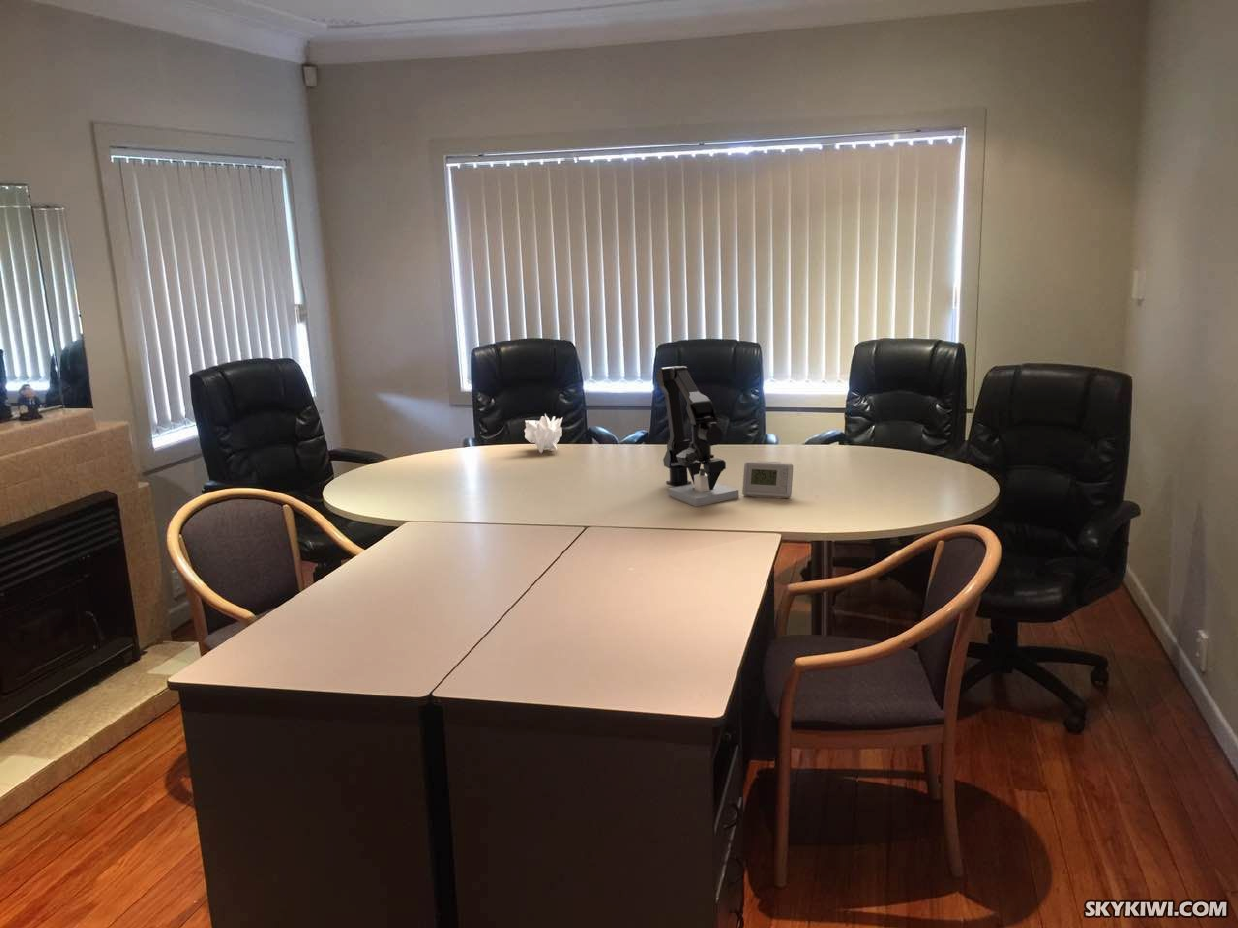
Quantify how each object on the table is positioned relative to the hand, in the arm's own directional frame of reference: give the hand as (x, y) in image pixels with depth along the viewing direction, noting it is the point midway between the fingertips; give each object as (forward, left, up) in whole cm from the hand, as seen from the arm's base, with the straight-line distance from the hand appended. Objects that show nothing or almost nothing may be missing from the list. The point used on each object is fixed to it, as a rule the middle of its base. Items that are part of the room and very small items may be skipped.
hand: (703, 487), depth 328 cm
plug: (0, 0, -3) cm, 3 cm away
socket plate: (0, 0, -3) cm, 3 cm away
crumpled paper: (-99, -12, -3) cm, 100 cm away
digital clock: (+12, +16, -4) cm, 21 cm away
